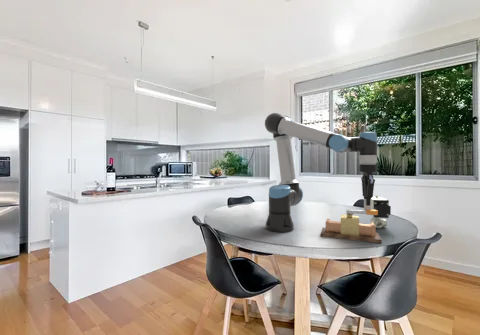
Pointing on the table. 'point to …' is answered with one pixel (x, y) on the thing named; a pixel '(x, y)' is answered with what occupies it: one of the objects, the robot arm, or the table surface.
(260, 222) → the table surface
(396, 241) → the table surface
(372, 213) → the lever
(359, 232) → the valve body
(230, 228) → the table surface
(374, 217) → the ball valve
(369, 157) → the robot arm
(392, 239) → the table surface
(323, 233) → the pipe board
